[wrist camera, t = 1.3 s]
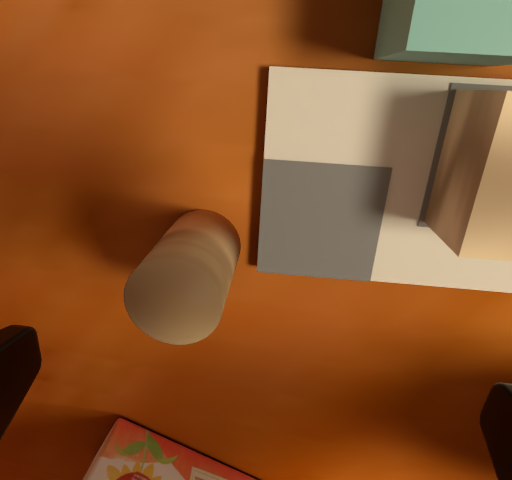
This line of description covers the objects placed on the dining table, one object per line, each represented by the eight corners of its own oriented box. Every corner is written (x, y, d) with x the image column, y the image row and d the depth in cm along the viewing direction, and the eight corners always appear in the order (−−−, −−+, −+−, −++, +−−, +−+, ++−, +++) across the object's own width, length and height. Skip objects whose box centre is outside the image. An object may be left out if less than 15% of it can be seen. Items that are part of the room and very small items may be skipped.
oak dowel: (239, 279, 21) (221, 349, 15) (169, 273, 21) (127, 339, 16) (242, 212, 19) (223, 263, 14) (167, 206, 20) (119, 254, 14)
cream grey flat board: (558, 291, 20) (567, 298, 19) (257, 265, 21) (256, 271, 20) (645, 87, 16) (661, 87, 15) (270, 66, 17) (269, 66, 16)
